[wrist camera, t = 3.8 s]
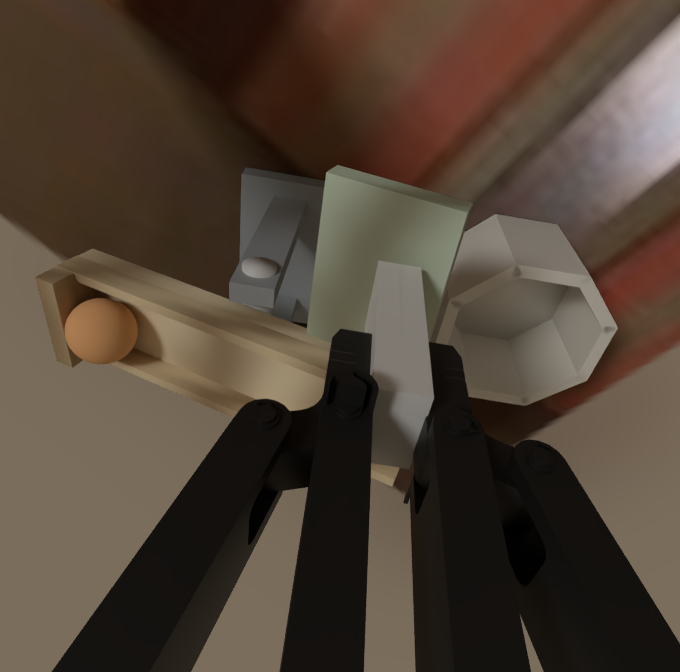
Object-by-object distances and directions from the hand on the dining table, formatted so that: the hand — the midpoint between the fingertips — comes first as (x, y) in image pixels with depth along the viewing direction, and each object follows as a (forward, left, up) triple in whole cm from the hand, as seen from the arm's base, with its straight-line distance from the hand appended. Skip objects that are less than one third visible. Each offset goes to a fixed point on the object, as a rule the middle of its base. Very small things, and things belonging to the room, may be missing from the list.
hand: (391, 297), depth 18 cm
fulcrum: (+6, +6, -15) cm, 17 cm away
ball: (+13, +6, -3) cm, 15 cm away
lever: (+6, +3, -4) cm, 8 cm away
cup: (-9, +6, -15) cm, 18 cm away
